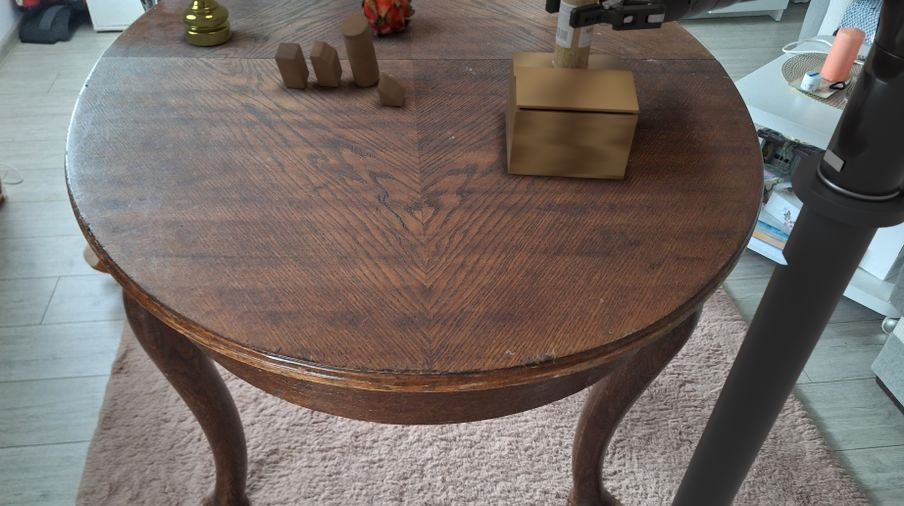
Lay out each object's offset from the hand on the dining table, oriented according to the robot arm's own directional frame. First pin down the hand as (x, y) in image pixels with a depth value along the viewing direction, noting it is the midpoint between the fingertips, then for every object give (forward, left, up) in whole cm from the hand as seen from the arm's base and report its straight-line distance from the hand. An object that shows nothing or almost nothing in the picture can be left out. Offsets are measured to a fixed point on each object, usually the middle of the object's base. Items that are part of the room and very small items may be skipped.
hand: (560, 11), depth 86 cm
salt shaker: (+53, -28, -17) cm, 62 cm away
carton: (-2, +2, -17) cm, 17 cm away
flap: (-2, +6, -7) cm, 9 cm away
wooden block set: (+28, -12, -17) cm, 35 cm away
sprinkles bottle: (-2, -1, -8) cm, 8 cm away
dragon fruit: (+24, -34, -17) cm, 45 cm away
